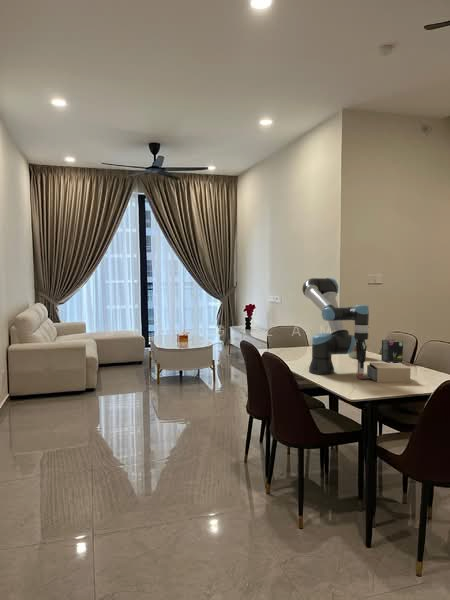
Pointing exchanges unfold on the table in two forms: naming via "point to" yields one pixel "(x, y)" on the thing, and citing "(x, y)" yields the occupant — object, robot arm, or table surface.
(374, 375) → the tray
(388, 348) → the tampon box
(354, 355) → the reusable coffee cup
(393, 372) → the sleeve
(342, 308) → the robot arm
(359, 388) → the table surface
